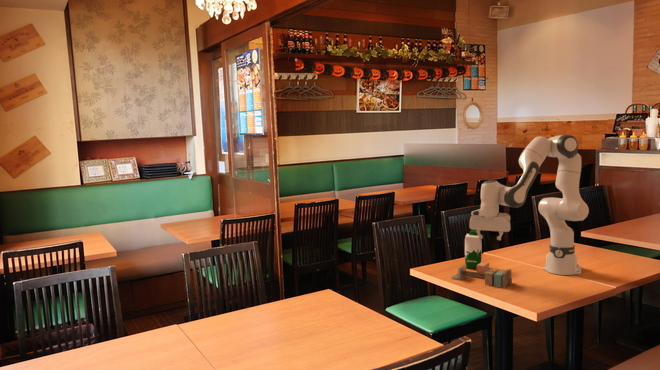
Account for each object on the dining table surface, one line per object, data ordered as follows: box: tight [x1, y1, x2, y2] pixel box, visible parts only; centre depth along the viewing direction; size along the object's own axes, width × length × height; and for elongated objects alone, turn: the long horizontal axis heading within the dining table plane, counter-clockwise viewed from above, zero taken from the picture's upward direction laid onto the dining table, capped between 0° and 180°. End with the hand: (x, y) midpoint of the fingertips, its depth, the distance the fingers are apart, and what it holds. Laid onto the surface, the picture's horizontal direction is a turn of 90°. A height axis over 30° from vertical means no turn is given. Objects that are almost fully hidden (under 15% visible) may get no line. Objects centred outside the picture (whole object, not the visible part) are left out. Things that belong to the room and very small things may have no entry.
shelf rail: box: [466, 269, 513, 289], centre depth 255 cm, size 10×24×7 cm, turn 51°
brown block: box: [484, 268, 499, 286], centre depth 253 cm, size 8×4×6 cm, turn 141°
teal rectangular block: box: [493, 270, 506, 288], centre depth 250 cm, size 8×4×6 cm, turn 141°
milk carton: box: [464, 229, 483, 270], centre depth 281 cm, size 9×9×20 cm
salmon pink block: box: [476, 261, 490, 274], centre depth 267 cm, size 8×4×6 cm, turn 142°
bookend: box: [451, 264, 467, 281], centre depth 263 cm, size 8×5×6 cm, turn 142°
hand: (489, 239), depth 258 cm, fingers open, 8 cm apart
